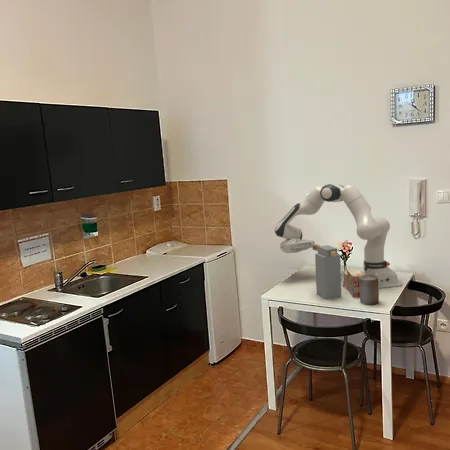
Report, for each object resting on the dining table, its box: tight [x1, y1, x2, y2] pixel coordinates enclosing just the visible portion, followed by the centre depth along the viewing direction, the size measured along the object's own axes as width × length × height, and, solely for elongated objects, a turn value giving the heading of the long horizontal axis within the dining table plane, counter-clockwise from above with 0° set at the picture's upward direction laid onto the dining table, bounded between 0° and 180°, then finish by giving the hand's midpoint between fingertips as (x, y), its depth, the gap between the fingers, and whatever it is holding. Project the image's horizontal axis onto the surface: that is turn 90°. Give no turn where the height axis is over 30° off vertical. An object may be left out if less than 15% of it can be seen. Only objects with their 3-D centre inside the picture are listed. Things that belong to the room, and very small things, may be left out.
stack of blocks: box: [342, 269, 364, 298], centre depth 258 cm, size 21×6×12 cm, turn 0°
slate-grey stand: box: [314, 245, 342, 300], centre depth 251 cm, size 10×10×28 cm
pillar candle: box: [359, 274, 380, 306], centre depth 238 cm, size 10×10×15 cm
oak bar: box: [312, 243, 336, 257], centre depth 253 cm, size 22×3×3 cm, turn 17°
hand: (304, 244), depth 275 cm, fingers open, 8 cm apart
